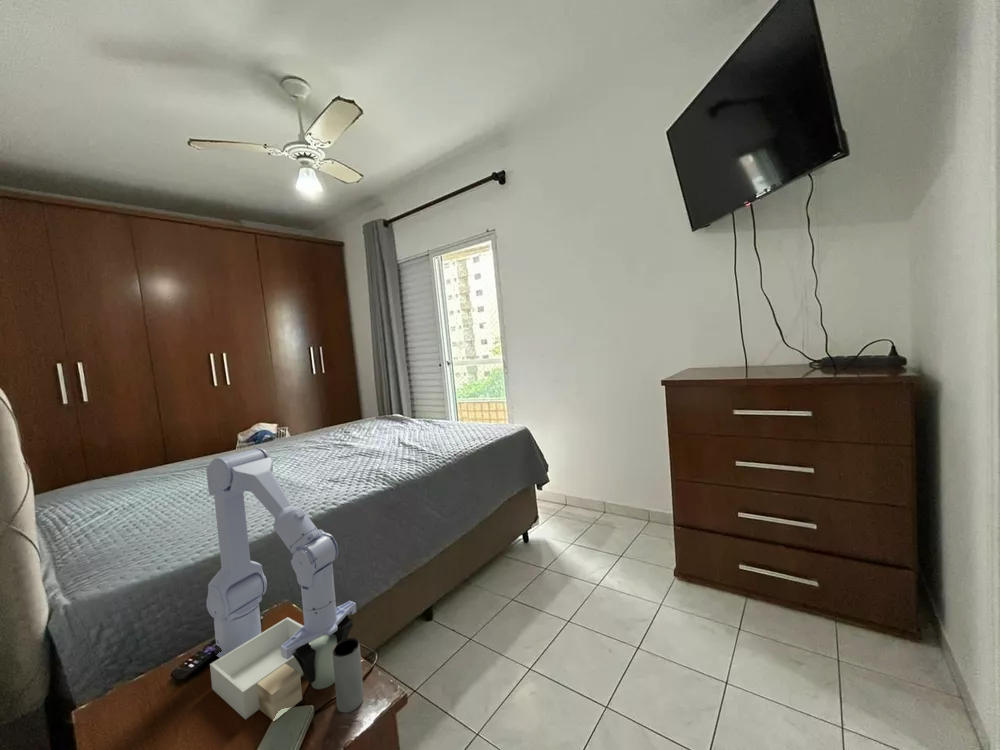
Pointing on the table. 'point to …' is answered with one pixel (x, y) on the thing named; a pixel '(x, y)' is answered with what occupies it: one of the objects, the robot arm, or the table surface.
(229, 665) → the tote
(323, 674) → the canister
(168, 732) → the table surface
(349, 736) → the table surface
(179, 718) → the table surface
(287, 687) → the cube
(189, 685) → the table surface
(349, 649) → the planter
